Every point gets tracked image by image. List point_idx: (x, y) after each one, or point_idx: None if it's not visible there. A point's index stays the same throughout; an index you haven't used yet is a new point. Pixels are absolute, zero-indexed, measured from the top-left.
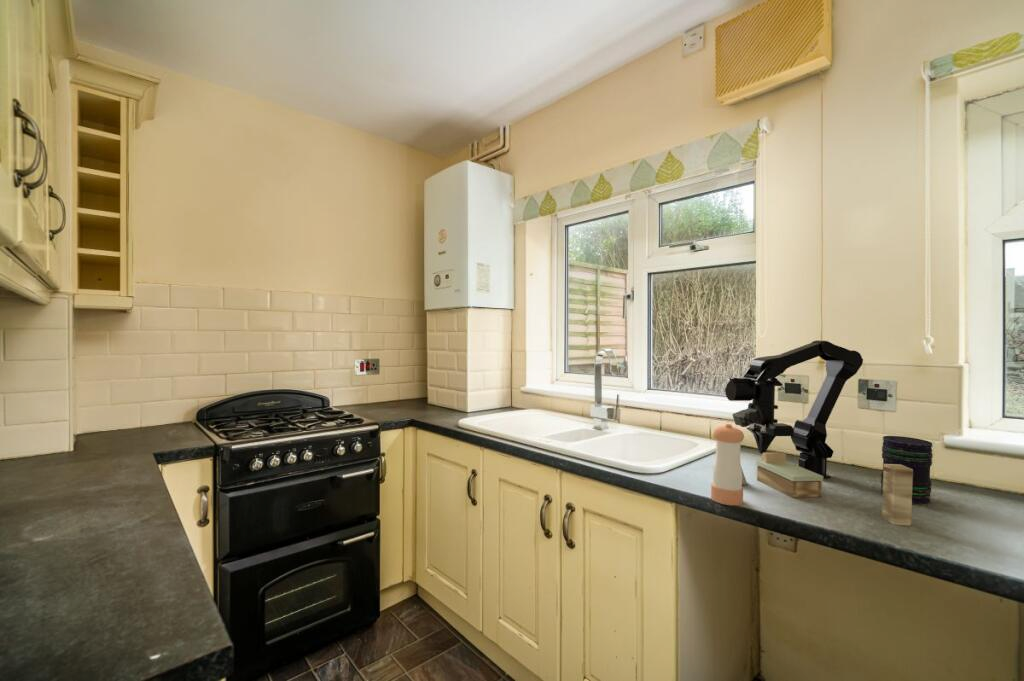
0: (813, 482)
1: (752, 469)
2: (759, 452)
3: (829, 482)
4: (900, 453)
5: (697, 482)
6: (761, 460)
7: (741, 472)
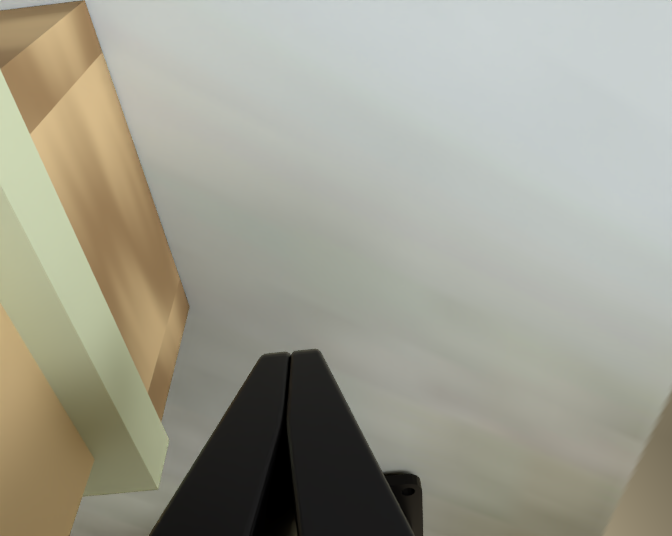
0: None
1: (537, 176)
2: (315, 352)
3: None
4: None
5: None
6: (6, 206)
7: None
